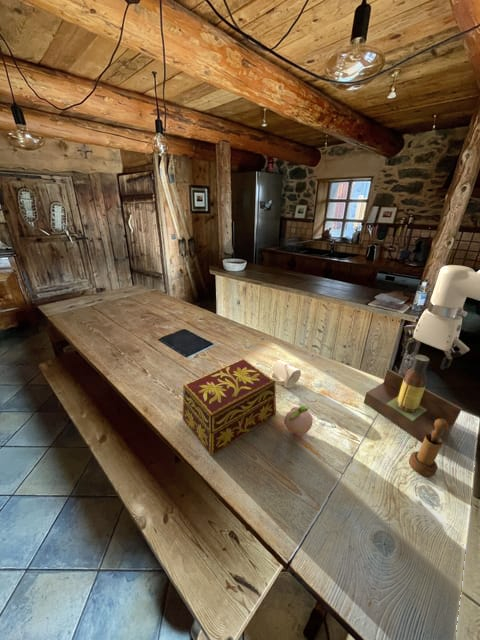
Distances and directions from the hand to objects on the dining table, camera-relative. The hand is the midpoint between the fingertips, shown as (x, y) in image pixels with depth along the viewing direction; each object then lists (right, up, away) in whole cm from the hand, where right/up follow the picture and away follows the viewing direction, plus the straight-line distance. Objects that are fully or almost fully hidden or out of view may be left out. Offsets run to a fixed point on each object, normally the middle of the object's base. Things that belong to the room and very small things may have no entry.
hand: (426, 360), depth 83 cm
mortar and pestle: (-5, -30, -6) cm, 31 cm away
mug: (-41, -14, +28) cm, 51 cm away
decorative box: (-62, -22, +10) cm, 66 cm away
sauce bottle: (-1, -18, +9) cm, 20 cm away
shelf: (0, -22, +11) cm, 25 cm away
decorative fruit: (-39, -25, +5) cm, 47 cm away
